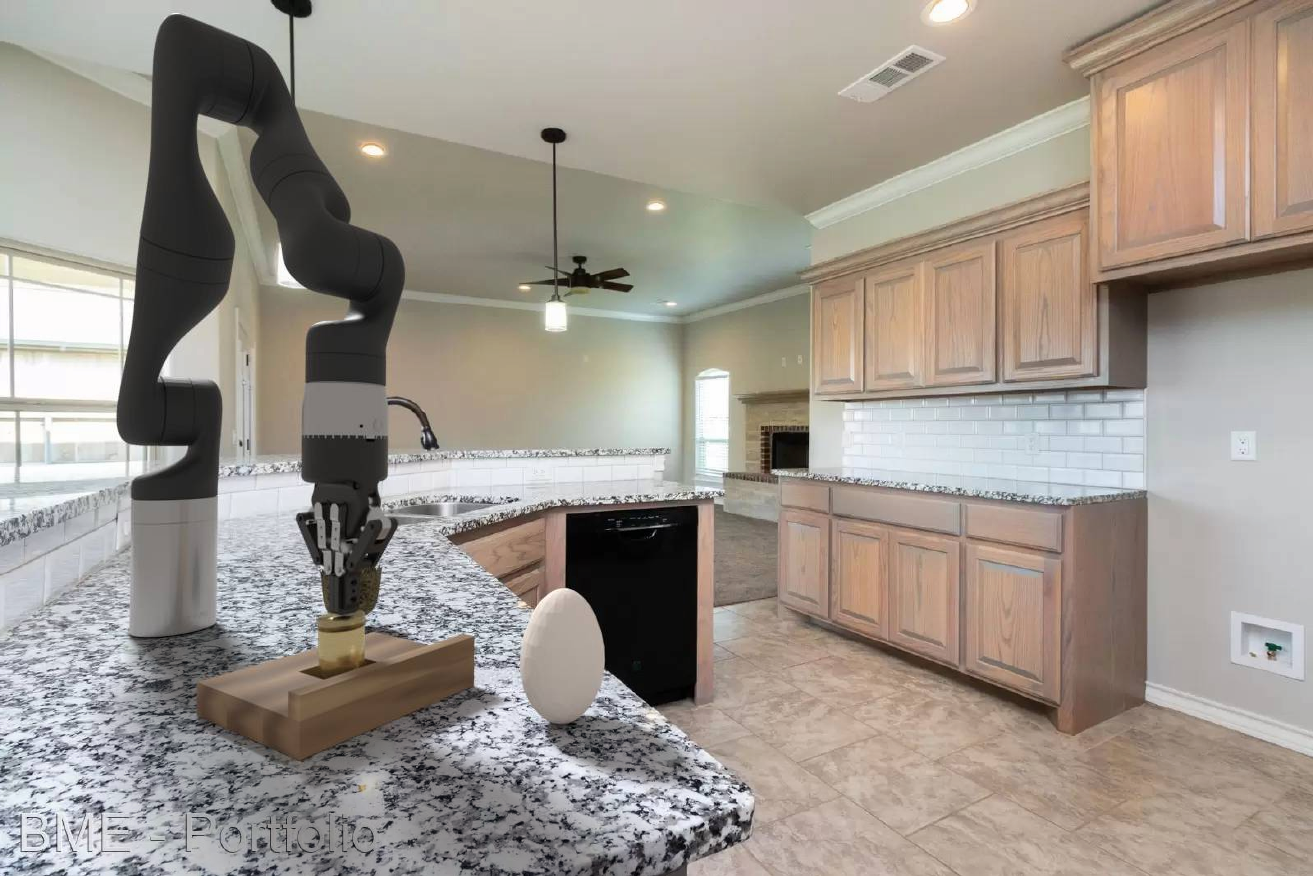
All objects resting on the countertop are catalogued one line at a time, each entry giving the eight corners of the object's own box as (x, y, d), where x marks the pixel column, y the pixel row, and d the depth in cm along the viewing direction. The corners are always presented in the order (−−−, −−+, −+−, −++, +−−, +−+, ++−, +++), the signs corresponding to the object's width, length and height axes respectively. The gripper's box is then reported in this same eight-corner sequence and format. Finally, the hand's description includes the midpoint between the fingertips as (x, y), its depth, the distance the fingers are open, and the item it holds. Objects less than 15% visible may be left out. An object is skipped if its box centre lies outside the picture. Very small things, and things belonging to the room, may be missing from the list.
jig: (196, 715, 58) (197, 659, 58) (373, 658, 73) (374, 614, 73) (299, 760, 50) (299, 695, 50) (474, 685, 65) (474, 636, 65)
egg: (557, 749, 52) (558, 603, 52) (502, 723, 56) (503, 589, 57) (621, 719, 57) (622, 587, 57) (566, 698, 62) (566, 576, 62)
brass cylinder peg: (308, 702, 61) (308, 618, 61) (348, 688, 64) (348, 608, 64) (334, 711, 59) (334, 623, 59) (374, 696, 62) (374, 613, 62)
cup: (357, 638, 81) (357, 575, 81) (306, 635, 82) (306, 572, 82) (393, 622, 88) (393, 564, 88) (345, 619, 89) (346, 562, 90)
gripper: (267, 432, 62) (265, 612, 62) (353, 431, 55) (351, 633, 55) (340, 433, 68) (338, 596, 68) (424, 432, 62) (423, 613, 61)
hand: (344, 612), depth 62 cm, fingers closed
